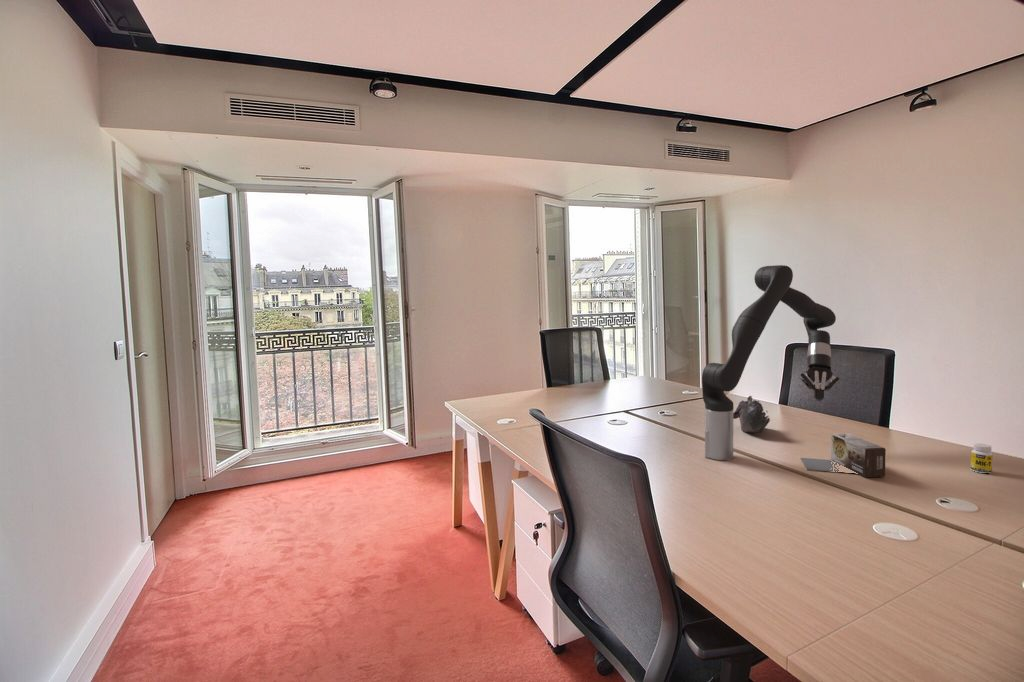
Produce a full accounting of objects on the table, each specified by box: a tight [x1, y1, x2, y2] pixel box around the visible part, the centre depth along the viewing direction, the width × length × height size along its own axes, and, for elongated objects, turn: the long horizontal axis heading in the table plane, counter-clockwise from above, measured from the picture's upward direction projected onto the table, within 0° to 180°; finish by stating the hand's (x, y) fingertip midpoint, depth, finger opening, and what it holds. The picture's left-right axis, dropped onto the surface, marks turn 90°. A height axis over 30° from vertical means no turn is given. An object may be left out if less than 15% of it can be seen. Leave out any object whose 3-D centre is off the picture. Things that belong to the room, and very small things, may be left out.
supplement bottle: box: [969, 442, 993, 474], centre depth 151 cm, size 5×5×8 cm
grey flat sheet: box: [800, 457, 840, 472], centre depth 160 cm, size 20×12×1 cm, turn 68°
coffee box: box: [830, 432, 887, 478], centre depth 157 cm, size 9×6×16 cm
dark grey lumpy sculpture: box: [733, 395, 771, 433], centre depth 200 cm, size 14×15×20 cm
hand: (819, 400), depth 177 cm, fingers closed
